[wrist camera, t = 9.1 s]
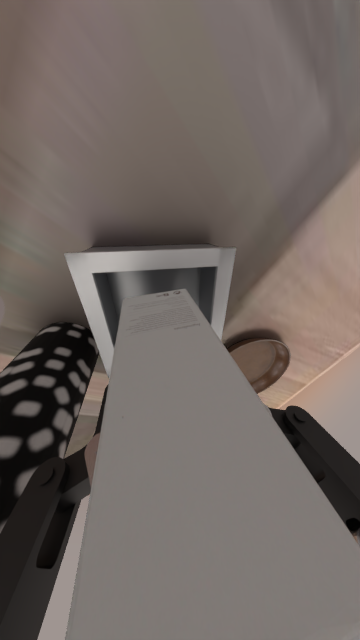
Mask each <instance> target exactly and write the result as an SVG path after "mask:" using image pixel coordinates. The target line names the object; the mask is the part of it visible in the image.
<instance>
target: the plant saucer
mask: <svg viewBox="0 0 360 640" xmlns="http://www.w3.org/2000/svg"><path fill="white" fill-rule="evenodd" d="M227 351H228V352H229V354H230V355H231V357H232V358H233V359H234V361H235V362H236V364H237V365H238V367H239V368H240V370H241V371H242V373H243V374H244V376H245V377H246V379H247V380H248V382H249V383H250V385H251V386H252V388H253V389H254V391H255V392H256V394H258V393H260V392H262V391H264V390H265V389H267V388H269V387H270V386H271V385H273V384H274V383H275V382H276V381H277V380H278V379H279V378H280V377H281V376H282V375H283V374H284V372H285V371H286V369H287V367H288V365H289V363H290V358H291V354H290V350H289V348H288V347H287V346H286V345H285V344H284V343H282V342H280V341H277V340H273V339H266V338H255V339H248V340H244V341H241V342H239V343H236V344H234V345H232V346H231V347H229V348H228V349H227Z"/></svg>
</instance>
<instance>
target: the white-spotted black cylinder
mask: <svg viewBox="0 0 360 640" xmlns="http://www.w3.org/2000/svg"><path fill="white" fill-rule="evenodd" d="M98 355H99V350H98V347H97V344H96V342H95V339H94V336H93V333H92V332H91V331H90V330H88V329H87V328H85V327H83V326H80V325H77V324H73V323H54V324H51V325H48V326H46V327H45V328H43V329H42V330H41V331H40V332H39V333H38V334H37V335H36V336H35V337H34V338H33V339H32V340H31V341H30V342H29V343H28V345H27V346H26V347H25V348H24V349H23V350H22V351H21V352H20V353H19V354H18V355H17V356H16V357H15V358H14V359H13V360H12V361H11V362H10V363H9V364H8V366H7V367H6V368H5V369H4V370H3V371H2V372H1V373H0V533H1V531H2V529H3V527H4V525H5V524H6V522H7V520H8V518H9V516H10V514H11V512H12V511H13V509H14V507H15V505H16V503H17V501H18V500H19V498H20V496H21V494H22V492H23V490H24V489H25V487H26V485H27V483H28V481H29V479H30V478H31V476H32V474H33V473H34V472H35V470H36V469H37V468H38V467H39V466H40V465H41V464H42V463H44V462H45V461H47V460H48V459H50V458H53V457H60V458H62V459H64V456H65V453H66V450H67V447H68V444H69V441H70V438H71V436H72V433H73V430H74V427H75V424H76V421H77V418H78V415H79V412H80V409H81V406H82V403H83V400H84V397H85V394H86V391H87V388H88V385H89V382H90V379H91V376H92V373H93V370H94V367H95V364H96V361H97V358H98Z"/></svg>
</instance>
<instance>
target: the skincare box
mask: <svg viewBox="0 0 360 640" xmlns="http://www.w3.org/2000/svg"><path fill="white" fill-rule="evenodd" d="M65 640H360V546H359V545H358V543H357V542H356V540H355V539H354V537H353V536H352V534H351V533H350V531H349V530H348V528H347V527H346V525H345V524H344V522H343V521H342V520H341V518H340V517H339V515H338V514H337V512H336V511H335V509H334V508H333V506H332V505H331V503H330V502H329V500H328V499H327V497H326V496H325V494H324V493H323V491H322V490H321V488H320V487H319V485H318V484H317V482H316V481H315V480H314V478H313V477H312V475H311V474H310V472H309V471H308V469H307V468H306V466H305V465H304V463H303V462H302V460H301V459H300V457H299V456H298V454H297V453H296V451H295V450H294V448H293V447H292V445H291V444H290V442H289V441H288V439H287V438H286V437H285V435H284V434H283V432H282V431H281V429H280V428H279V426H278V425H277V423H276V422H275V420H274V419H273V417H272V416H271V414H270V413H269V411H268V410H267V408H266V407H265V405H264V404H263V402H262V401H261V399H260V398H259V396H258V395H257V394H256V392H255V391H254V389H253V388H252V386H251V385H250V383H249V382H248V380H247V379H246V377H245V376H244V374H243V373H242V371H241V370H240V368H239V367H238V365H237V364H236V362H235V361H234V359H233V358H232V357H231V355H230V354H229V352H228V351H227V349H226V348H225V346H224V345H223V343H222V342H221V340H220V339H219V337H218V336H217V334H216V333H215V331H214V330H213V328H212V327H211V325H210V324H209V322H208V321H207V319H206V318H205V316H204V315H203V313H202V312H201V311H200V309H199V307H198V306H197V305H196V303H195V302H194V300H193V299H192V297H191V296H190V294H189V293H188V291H187V290H186V289H179V290H173V291H167V292H161V293H155V294H147V295H141V296H135V297H128V298H125V299H123V301H122V308H121V314H120V320H119V326H118V332H117V337H116V343H115V348H114V354H113V360H112V366H111V373H110V378H109V385H108V391H107V397H106V403H105V408H104V414H103V421H102V427H101V433H100V439H99V445H98V451H97V457H96V462H95V468H94V474H93V480H92V486H91V492H90V498H89V504H88V510H87V515H86V521H85V527H84V533H83V539H82V545H81V550H80V556H79V562H78V568H77V574H76V579H75V585H74V591H73V597H72V602H71V608H70V614H69V620H68V626H67V631H66V637H65Z"/></svg>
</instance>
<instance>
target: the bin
mask: <svg viewBox="0 0 360 640" xmlns="http://www.w3.org/2000/svg"><path fill="white" fill-rule="evenodd" d="M235 253H236V247H218V246H214V245H211V244H183V245H149V246H114V247H91V248H89V249H87V250H85V251H82V252H71V253H64V255H65V258H66V261H67V264H68V266H69V269H70V272H71V275H72V278H73V280H74V283H75V286H76V289H77V291H78V294H79V297H80V300H81V303H82V305H83V308H84V311H85V314H86V317H87V319H88V322H89V325H90V328H91V330H92V333H93V336H94V339H95V342H96V344H97V347H98V350H99V353H100V356H101V358H102V361H103V364H104V367H105V370H106V372H107V375H108V378H110V373H111V366H112V360H113V354H114V348H115V343H116V337H117V332H118V326H119V320H120V314H121V308H122V301H123V299H125V298H128V297H135V296H141V295H147V294H155V293H161V292H167V291H173V290H179V289H186V290H187V291H188V293H189V294H190V296H191V297H192V299H193V300H194V302H195V303H196V305H197V306H198V307H199V309H200V311H201V312H202V313H203V315H204V316H205V318H206V319H207V321H208V322H209V324H210V325H211V327H212V328H213V330H214V331H215V333H216V334H217V336H218V337H219V339H220V340H221V338H222V332H223V326H224V320H225V314H226V308H227V302H228V295H229V289H230V283H231V277H232V271H233V265H234V259H235Z"/></svg>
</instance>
